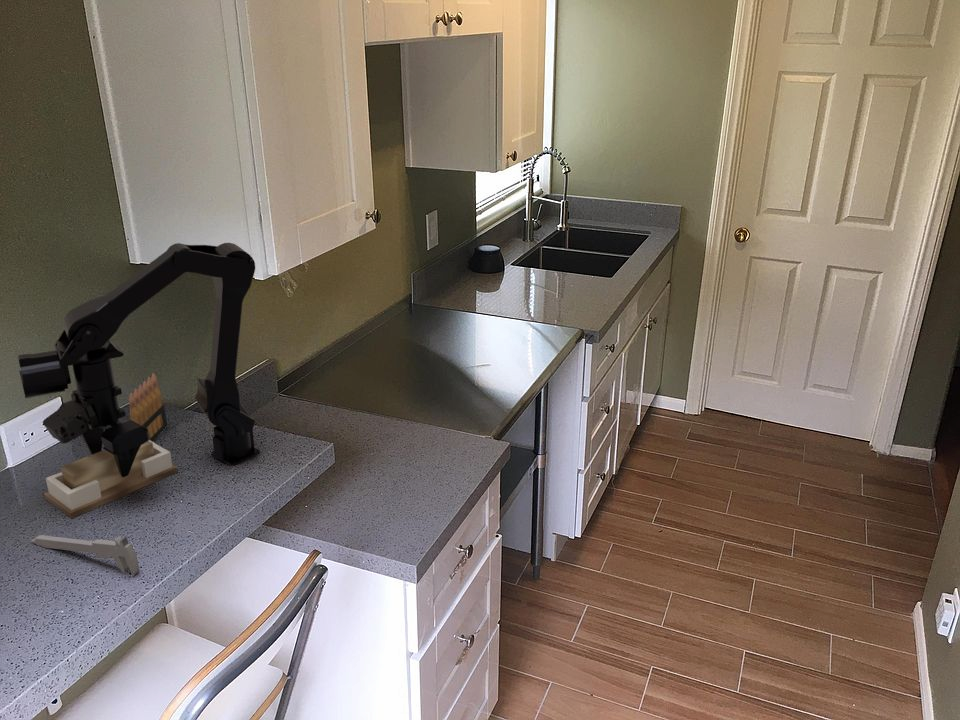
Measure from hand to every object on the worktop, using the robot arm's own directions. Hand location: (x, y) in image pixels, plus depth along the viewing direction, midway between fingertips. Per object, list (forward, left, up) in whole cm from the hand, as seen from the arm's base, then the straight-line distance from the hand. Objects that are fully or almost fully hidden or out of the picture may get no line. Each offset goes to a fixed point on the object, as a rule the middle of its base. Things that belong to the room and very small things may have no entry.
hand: (110, 467), depth 134 cm
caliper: (+13, +15, -4) cm, 21 cm away
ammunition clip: (-13, -10, -4) cm, 17 cm away
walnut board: (0, 0, -4) cm, 4 cm away
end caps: (0, 0, -4) cm, 4 cm away
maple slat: (0, 0, -2) cm, 2 cm away
